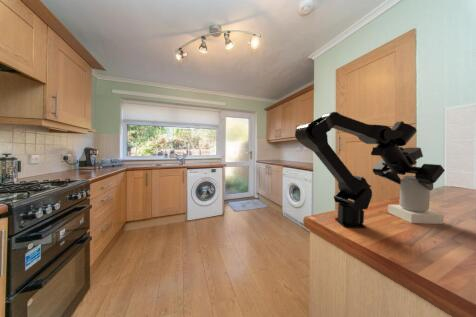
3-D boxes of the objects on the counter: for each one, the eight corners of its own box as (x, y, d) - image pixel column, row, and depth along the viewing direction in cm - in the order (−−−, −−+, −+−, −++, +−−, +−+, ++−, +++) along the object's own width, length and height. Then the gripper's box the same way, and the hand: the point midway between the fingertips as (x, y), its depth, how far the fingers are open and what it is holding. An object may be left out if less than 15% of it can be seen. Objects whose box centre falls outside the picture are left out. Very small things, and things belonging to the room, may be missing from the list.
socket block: (411, 222, 58) (411, 214, 58) (387, 212, 68) (388, 204, 68) (443, 223, 58) (443, 214, 58) (415, 212, 68) (415, 205, 68)
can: (434, 212, 60) (437, 177, 59) (416, 213, 59) (418, 178, 58) (410, 205, 67) (412, 174, 66) (393, 206, 66) (395, 175, 65)
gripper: (442, 137, 51) (466, 174, 54) (380, 140, 70) (400, 167, 72) (419, 164, 50) (445, 200, 53) (362, 160, 69) (383, 186, 71)
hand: (415, 186), depth 62 cm, fingers open, 9 cm apart
